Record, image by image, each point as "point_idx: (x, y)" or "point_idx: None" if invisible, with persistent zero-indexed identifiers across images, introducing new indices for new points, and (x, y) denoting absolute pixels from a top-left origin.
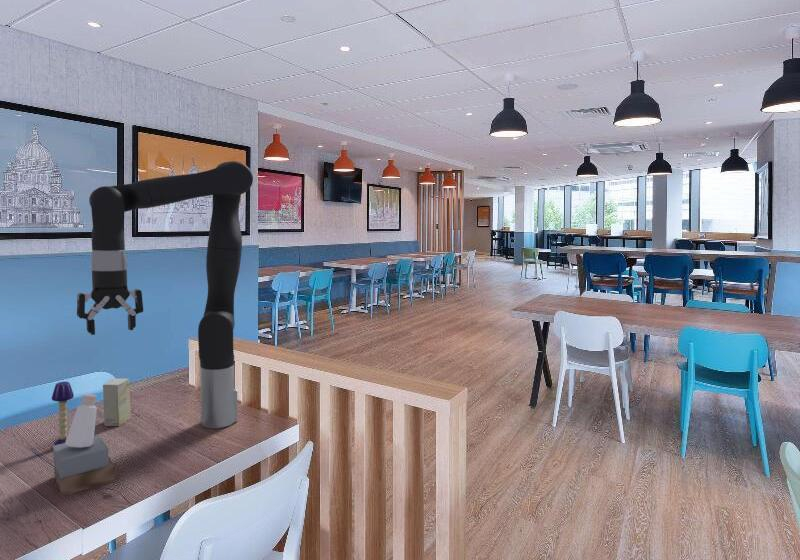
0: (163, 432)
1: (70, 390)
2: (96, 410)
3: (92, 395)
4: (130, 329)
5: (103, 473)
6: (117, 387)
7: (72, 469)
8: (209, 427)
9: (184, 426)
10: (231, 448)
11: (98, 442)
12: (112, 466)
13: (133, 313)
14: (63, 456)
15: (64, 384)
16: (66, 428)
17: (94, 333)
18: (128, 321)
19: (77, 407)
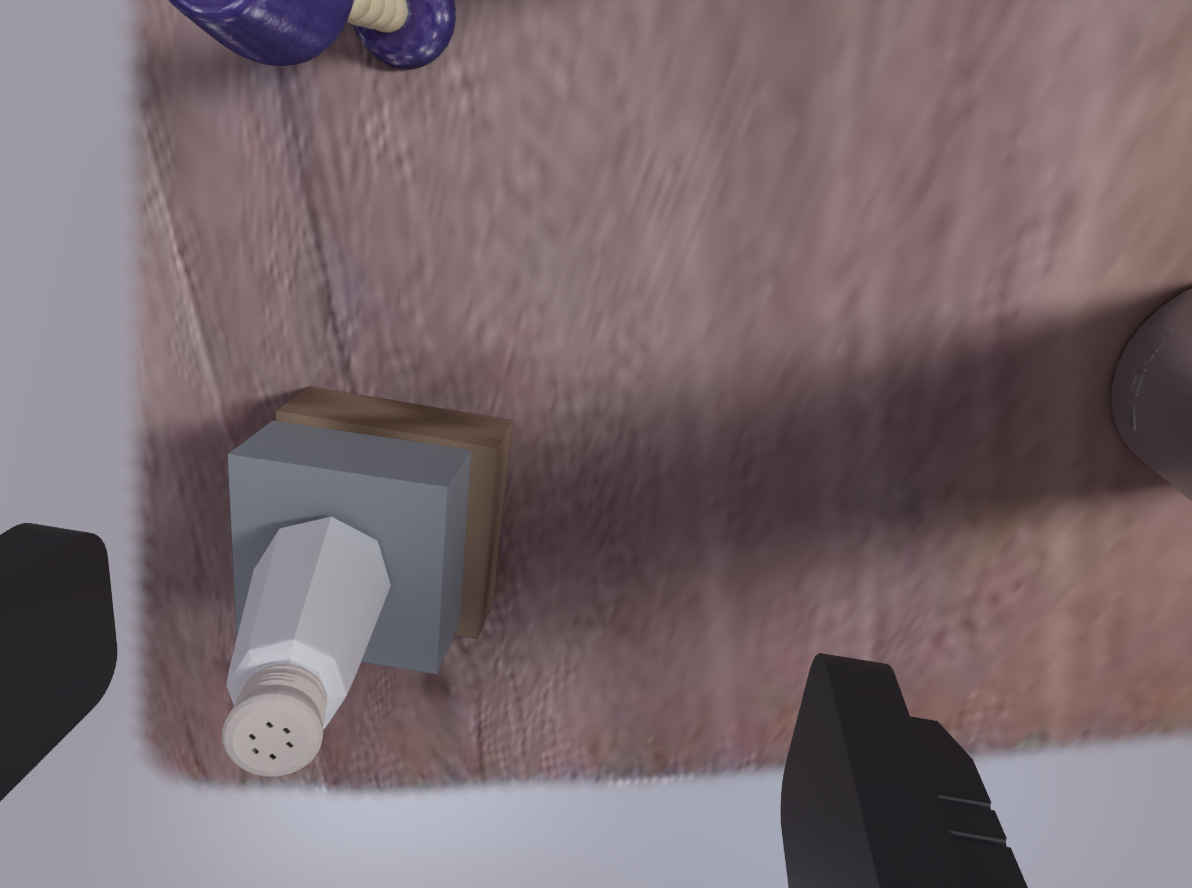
0: (905, 267)
1: (296, 23)
2: (352, 681)
3: (282, 764)
4: (783, 811)
5: None
6: None
7: None
8: (1118, 431)
9: (1047, 275)
10: (1006, 703)
11: (419, 578)
12: (470, 636)
13: None
14: None
15: (213, 13)
16: (385, 16)
17: (91, 694)
18: (838, 834)
19: (227, 682)
